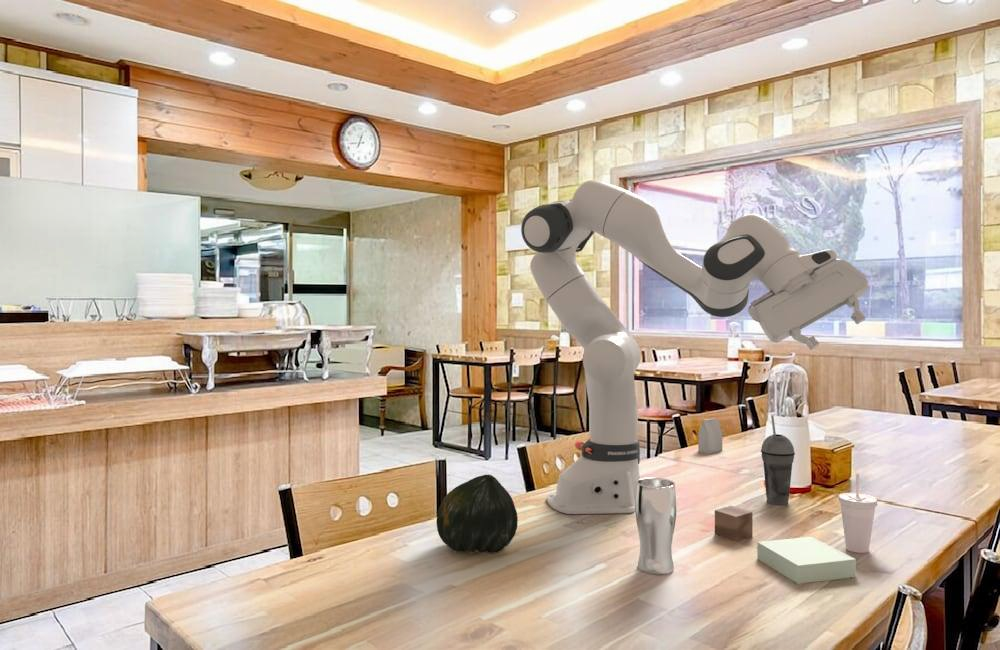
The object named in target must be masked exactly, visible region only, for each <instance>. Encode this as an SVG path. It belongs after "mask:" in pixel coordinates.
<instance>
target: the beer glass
mask: <svg viewBox="0 0 1000 650" xmlns="http://www.w3.org/2000/svg"><path fill="white" fill-rule="evenodd" d="M676 492H677V491H676V482H675V481H673V480H670V479H668V478H661V477H642V478H640V479H639V480H637V481H636V496H635V511H634V512H635V521H636V527H637V532H638V538H639V555H638V561H637V562H638V563H637V568H638V569H639V570H640V571H641V572H643V573H645V574H648V575H652V574H653V575H654V576H665V575H670V574H671V573H672V572H673V571H675V567H674V566H675V565H674V561H673V560H674V559H673V556H672V555H673V552H672V544H673V537H674V533H675V526H676V519H677V508H678V507H677V493H676Z"/></svg>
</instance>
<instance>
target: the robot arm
mask: <svg viewBox="0 0 1000 650" xmlns="http://www.w3.org/2000/svg"><path fill="white" fill-rule="evenodd" d="M520 232H521V236H522V239H523V241H524V243H525V245H526V246H527V247H528V248H530V250H533V251H535V252H536V253H535V254H534V255H533V256H532V258H531V260H530V264H529V265H530V271H531V274H532V277H533V278H534V280H535V281H534V282H535V284H536V285H537V287H538V288H539V290H540V292H541V294H542V296H543V297H544V299H545V301H546V303H548V306H549V307H550V309H551V310H552V311H553V313H554V314H555V315H556V317H557V319H558V320H559V321H560V323H561V325H562V327H563V328H564V329H565V330H566V331H567V332H568V333H569V334H570V335H571V336H572V337H573V338H574V339H575V340H576V342H577V343H579V345H580V346H581V347H582V348H583V350H584V352H583V355H582V356H583V357H582V364H583V365H582V366H583V369H584V378H585V388H586V393H587V401H588V415H589V416H588V420H589V421H588V422H589V423H588V426H589V427H588V428H589V431H588V433H589V437H588V440H586V441H585V442H583V441H582V440H576V441H575V443H574V447H575V449H577V450H579V451H581V455H580V457H579V458H578V459H577V460H575V461H574V462H573V463H572V464H570V465H569V466H568V467H566V468H564V469H563V470H562V471H561V472H560V474H559V475H558V479H557V483H556V484H557V485H556V488H555V489H556V490H555V492H550V493H548V494H547V496H546V502H547V504H548V505H549V506H550V507H551V508H552V509H554V510H555V511H557V512H560V513H563V514H567V515H586V514H587V515H590V514H600V515H601V514H633V513H634V512H635V496H636V481H637V480H639V479H641V478H640V468H639V467H640V466H639V464H640V462H641V458H640V457H641V449H640V448H641V447H640V446H641V445H640V441H639V439H638V438H639V437H638V435H639V434H638V433H639V431H638V430H639V429H638V428H639V427H638V424H639V423H638V422H639V421H638V412H639V411H638V404H637V394H636V386H635V371H636V370H637V369H638V367H639V365H640V362H641V357H642V354H641V349H640V346H639V344H638V342H637V341H636V339H635V338H634V337H633V336H632V334H631V333H630V332H629V330H628V328H626V327H625V325H624V324H623V323H622V321H621V320H620V319H619V318H618V316H616V314H615V313H614V312H613V310H611V308H610V307H609V306H608V304H607V303H606V302H605V300H604V299H603V297H602V296H601V295H600V294H599V292H598V290H597V289H596V288H595V286H594V284H593V283H592V282H591V280H590V279H589V277H588V276H587V274H586V273H585V271H584V270H583V269H582V267H581V266H580V264H579V262H578V261H577V258H576V253H579V252H582V251H583V249H585V246H586V245H587V243H588V242H589V240H590V239H591V238H592V236H593V235H594V234H595V233H596V234H598V235H600V236H601V237H603V238H605V239H607V240H609V241H610V242H612V243H615V244H616V245H617V246H620V247H621V248H622V249H624V250H625V251H627V252H628V253H630V254H631V255H632V256H634V257H635V258H636V259H637V260H638V261H640V262H641V263H642V264H643V265H645V267H647V268H649V269H650V270H652V271H653V272H654V273H656V274H657V275H659V276H660V277H662V278H663V279H665V280H666V281H668V282H669V283H671V284H672V285H674V286H676V287H677V288H679V289H681V290H682V291H683V292H685V293H687V294H688V295H689V296H690V297H691V298H692V299H693V300H694V301H695V302H696V303H697V304H698V305H699V307H700V308H701V309H702V310H703V311H704V312H705V313H707V314H708V315H711V316H714V317H717V318H728V317H733V316H735V315H737V314H740V312H741V311H743V310H744V309H745V308H746V306H747V304H748V301H749V290H750V285H751V282H754V281H755V280H759V281H760V282H761V283H762V284H763V285H764V287H765V288H766V289H767V290H768V292H766V293H765V294H763V295H761V296H760V297H759V298H757V299H754V300H752V301H751V302H750V304H749V306H748V310H747V312H748V314H749V316H750V317H751V318H752V320H754V321H755V322H757V323H758V324H759V325H760V327H761V329H762V331H763V332H764V334H765V335H766V337H767V338H768V340H769V341H771V342H773V343H780V342H782V341H783V340H785V339H787V338H789V337H792V339H793V340H794V341H797V342H800V343H801V344H805V345H806V346H807V347H808V349H809V350H811V351H812V350H814V349H816V348H817V347H819V345H820V343H819V341H818V340H817V339H816V337H815V336H814V335H812V336H810V337H808V336H806V335H804V334H802V329H805V328H807V327H808V326H810V325H812V324H813V323H815V322H817V321H819V320H822V319H823V318H824V317H826V316H828V315H830V314H831V313H833V312H835V311H837V310H838V309H840V308H842V307H844V306H846V305H847V307H848V308H850V309H851V308H853V309H852V310H853V313H852V314H851V316H850V319H851V320H852V321H854V323H855V324H856V325H858V324H861V323H863V322H864V321H866V315H865V314H864V313H863V312H862V311H861V308H860V302H859V297H861V296H863V295H865V293H867V290H868V287H869V281H868V279H867V277H866V276H865V275H864V274H863V273H862V272H861V271H860V270H858V269H857V267H855V266H854V265H852V263H851V262H849V261H847V260H845V259H841V258H840V259H839V258H837V257H838V256H837V253H836V251H834V250H833V249H831V248H829V249H824V250H821V251H816V252H813V253H808V254H802V253H801V252H799V251H798V250H796V249H795V248H793V247H792V245H790V242H789V240H788V238H787V237H786V236H785V235H784V234H783V233H782V231H781V230H779V228H778V227H777V226H775V225H774V224H773V223H772V222H771V221H769V219H767V218H765V217H763V216H761V215H760V214H755V213H750V214H749V213H748V214H745V215H743V216H740V217H739V218H737V219H735V220H734V221H732V223H730V225H729V226H728V228H727V230H726V232H725V234H724V236H723V237H722V238H721V239H720V240H719V241H718V242H717V243H716V242H715V244H713V245H711V246H710V247H709V248H708V249H707V250H706V251H705V253H704V256H703V259H702V265H701V266H700V265H699V264H697V263H695V261H693V260H691V259H689V258H687V257H686V256H684V255H682V254H681V253H680V252H679V251H677V250H676V249H675V248H674V247H673V245H671V243H670V241H669V239H668V237H667V235H666V232H665V230H664V227H663V225H662V221H661V218H660V215H659V213H658V211H657V209H656V208H655V207H654V206H653V205H652V204H651V203H650V202H649V201H648V200H647V199H645V198H644V197H641V196H640V195H638V194H636V193H634V192H631V191H630V190H627V189H624V187H623V188H622V187H620V186H617V185H614V184H611V183H608V182H604V181H600V180H597V179H596V180H595V179H590V180H587V181H584V182H583V183H581V184H580V185H579V186H578V187H577V188H576V190H575V192H574V194H573V196H572V198H571V199H566V200H564V199H563V200H557V201H552V202H551V203H547V204H542V205H539V206H536V207H534V208H533V209H531V210H530V211H529V212H527V214H525V215H524V217H523V219H522V222H521V228H520Z"/></svg>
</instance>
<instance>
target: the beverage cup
mask: <svg viewBox="0 0 1000 650" xmlns="http://www.w3.org/2000/svg"><path fill="white" fill-rule="evenodd" d="M770 416H771V417H770V418H771V425H772V434H770V435H769V436H767V437H766V438H765V439H764V440H763V442H762V444H761V449H760V453H761V458H762V461H763V463H762V464H763V474H764V484H765V494H766V502H767V503H768V504H770V505H775V506H776V505H777V506H785V505H788V504H789V497H790V492H791V491H790V490H791V480H792V471H793V470H792V469H793V463H794V459H795V454H796V453H795V449H794V445H793V443H792V441H791V440H790V439H789V438H788V437H787V436H785V435H783V434H779V433H776V425H775V418H774V415H773V414H772V415H770Z"/></svg>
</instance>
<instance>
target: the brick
mask: <svg viewBox="0 0 1000 650" xmlns="http://www.w3.org/2000/svg"><path fill="white" fill-rule="evenodd" d="M753 515H754V513H753V511H750V510H748V509H743V508H740V507H737V506H734V505H729V506H725V507H724V506H723V507H722V508H718V509H715V510H714V535H715V536H718V537H720V538H723V539H726V540H729V541H732V542H734V543H738V542H740V541H744V540H748V539H750V538H753V536H754V535H753V534H754V533H753V530H754V529H753V528H754V527H753V519H754V518H753Z"/></svg>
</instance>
